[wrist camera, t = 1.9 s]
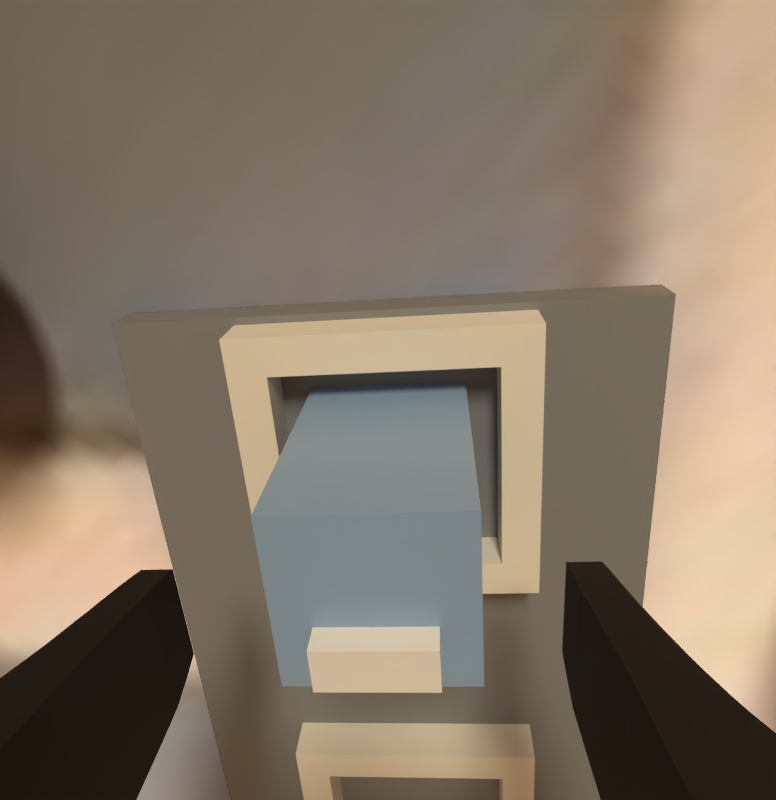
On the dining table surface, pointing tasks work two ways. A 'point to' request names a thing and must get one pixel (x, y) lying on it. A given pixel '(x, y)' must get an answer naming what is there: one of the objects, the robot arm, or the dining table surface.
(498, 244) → the dining table surface
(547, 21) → the dining table surface
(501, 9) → the dining table surface
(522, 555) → the panel
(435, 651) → the plug
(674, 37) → the dining table surface
